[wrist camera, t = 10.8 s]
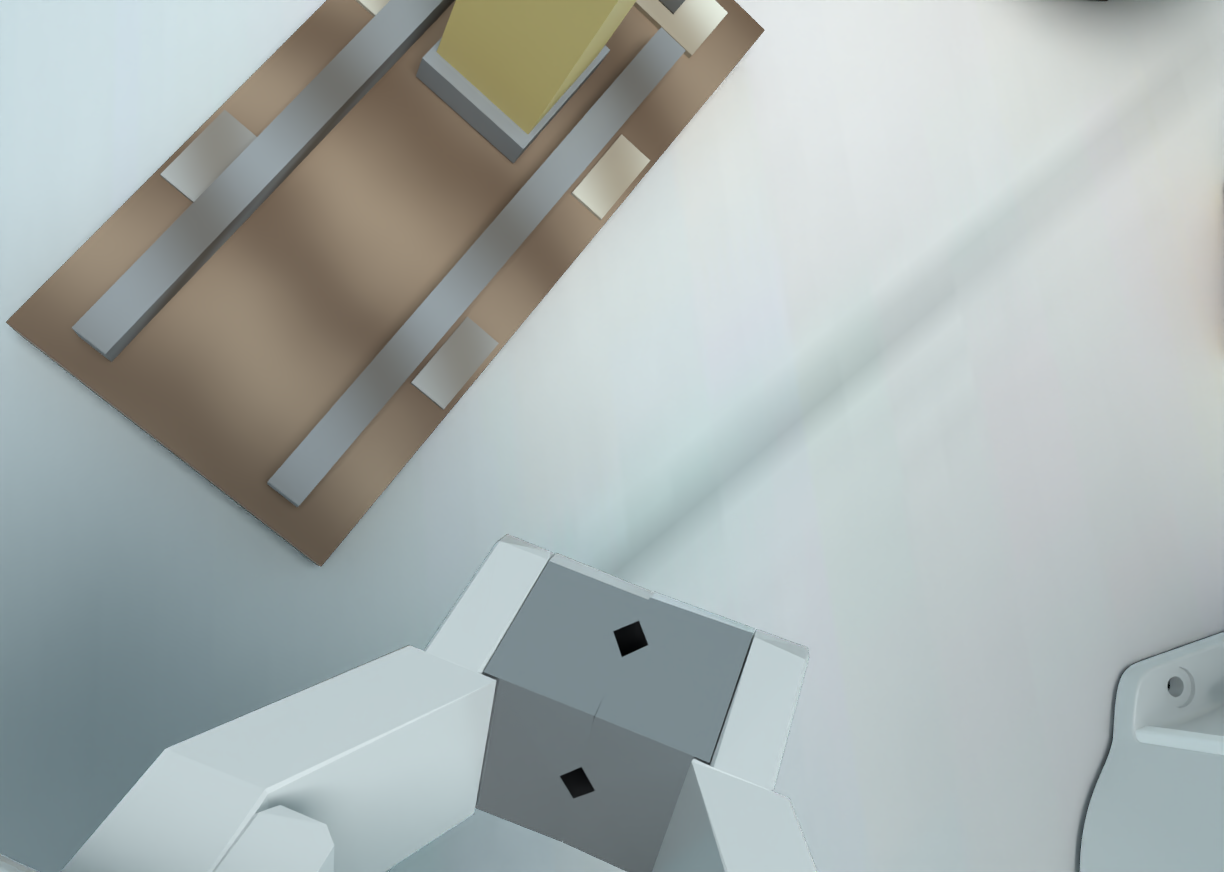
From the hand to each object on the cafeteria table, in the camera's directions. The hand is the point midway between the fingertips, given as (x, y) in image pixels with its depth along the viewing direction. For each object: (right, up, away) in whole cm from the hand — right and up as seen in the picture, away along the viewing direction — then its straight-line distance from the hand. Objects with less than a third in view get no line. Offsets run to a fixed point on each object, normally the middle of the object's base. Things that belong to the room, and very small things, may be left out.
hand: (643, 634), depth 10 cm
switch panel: (-7, +11, +29) cm, 32 cm away
